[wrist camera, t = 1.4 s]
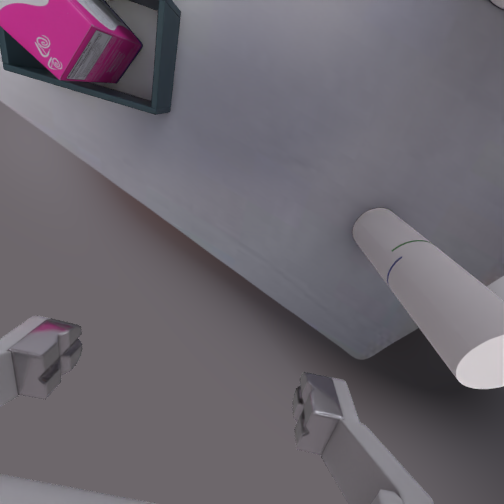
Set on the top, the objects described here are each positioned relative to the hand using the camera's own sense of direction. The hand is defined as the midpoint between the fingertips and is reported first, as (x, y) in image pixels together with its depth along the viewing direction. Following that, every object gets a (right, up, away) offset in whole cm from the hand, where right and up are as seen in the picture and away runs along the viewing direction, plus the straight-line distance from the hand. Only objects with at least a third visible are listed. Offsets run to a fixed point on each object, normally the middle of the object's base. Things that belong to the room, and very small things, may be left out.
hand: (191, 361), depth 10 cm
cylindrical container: (+22, +8, +33) cm, 41 cm away
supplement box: (-14, +28, +21) cm, 38 cm away
